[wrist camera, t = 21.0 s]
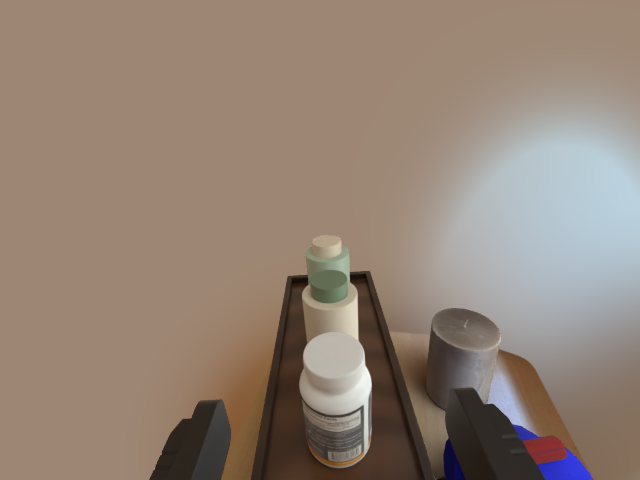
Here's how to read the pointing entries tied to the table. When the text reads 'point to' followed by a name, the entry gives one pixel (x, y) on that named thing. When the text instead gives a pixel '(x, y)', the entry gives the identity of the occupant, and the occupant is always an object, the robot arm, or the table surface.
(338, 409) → the pill bottle
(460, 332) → the pillar candle
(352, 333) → the middle bottle
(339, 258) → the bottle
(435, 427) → the table surface
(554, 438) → the blue curved housing
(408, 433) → the stand
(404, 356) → the table surface
